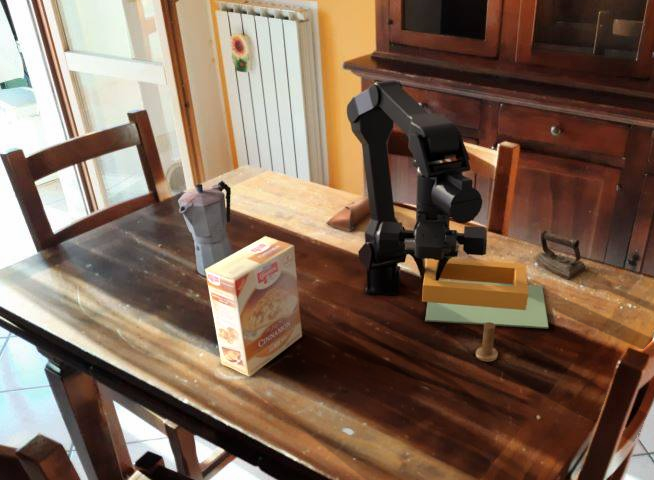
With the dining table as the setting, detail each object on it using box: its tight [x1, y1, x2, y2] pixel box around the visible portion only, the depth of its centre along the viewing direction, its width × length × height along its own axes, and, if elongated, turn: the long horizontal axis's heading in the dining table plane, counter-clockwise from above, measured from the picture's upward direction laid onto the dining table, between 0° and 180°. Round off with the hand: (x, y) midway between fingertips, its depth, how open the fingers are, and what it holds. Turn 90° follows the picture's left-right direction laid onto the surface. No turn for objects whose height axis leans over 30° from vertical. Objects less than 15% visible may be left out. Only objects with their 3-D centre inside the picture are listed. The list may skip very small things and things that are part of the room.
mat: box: [424, 279, 549, 330], centre depth 134 cm, size 24×16×1 cm, turn 84°
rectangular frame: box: [421, 257, 529, 310], centre depth 117 cm, size 18×10×3 cm, turn 84°
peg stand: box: [475, 322, 499, 363], centre depth 118 cm, size 4×4×7 cm
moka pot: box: [177, 180, 235, 277], centre depth 141 cm, size 10×15×20 cm, turn 158°
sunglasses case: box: [326, 194, 371, 233], centre depth 169 cm, size 18×7×7 cm
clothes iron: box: [535, 230, 587, 280], centre depth 146 cm, size 7×11×10 cm, turn 47°
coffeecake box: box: [205, 235, 303, 377], centre depth 115 cm, size 15×7×20 cm, turn 148°
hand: (430, 280), depth 118 cm, fingers closed on rectangular frame, 2 cm apart
